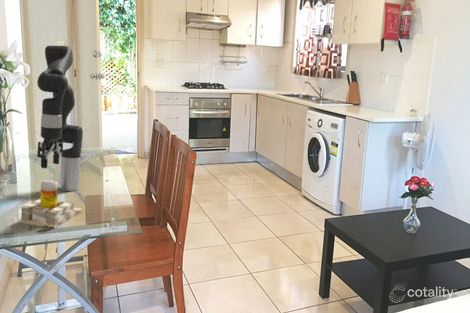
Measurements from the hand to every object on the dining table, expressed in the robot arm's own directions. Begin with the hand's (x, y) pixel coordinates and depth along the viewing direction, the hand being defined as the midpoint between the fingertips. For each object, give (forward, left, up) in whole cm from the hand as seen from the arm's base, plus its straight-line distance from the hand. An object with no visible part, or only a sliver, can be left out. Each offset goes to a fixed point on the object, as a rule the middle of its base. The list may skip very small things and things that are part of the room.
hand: (50, 165), depth 162 cm
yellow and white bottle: (0, 0, -22) cm, 22 cm away
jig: (-4, 0, -23) cm, 23 cm away
